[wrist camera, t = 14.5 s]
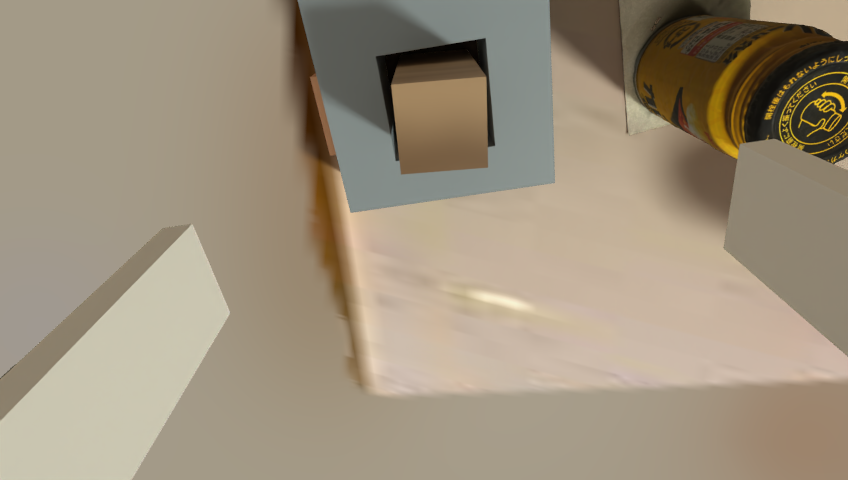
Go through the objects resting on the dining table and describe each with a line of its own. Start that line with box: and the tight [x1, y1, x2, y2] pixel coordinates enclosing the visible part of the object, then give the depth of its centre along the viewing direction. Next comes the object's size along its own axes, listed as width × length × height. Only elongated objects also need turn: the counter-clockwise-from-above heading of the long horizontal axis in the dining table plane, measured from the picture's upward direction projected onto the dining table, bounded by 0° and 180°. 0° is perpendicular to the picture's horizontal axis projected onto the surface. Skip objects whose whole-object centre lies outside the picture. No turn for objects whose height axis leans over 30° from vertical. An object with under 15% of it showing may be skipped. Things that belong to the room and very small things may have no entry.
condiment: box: [619, 0, 848, 164], centre depth 24 cm, size 7×8×12 cm
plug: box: [391, 49, 488, 175], centre depth 25 cm, size 4×4×10 cm
